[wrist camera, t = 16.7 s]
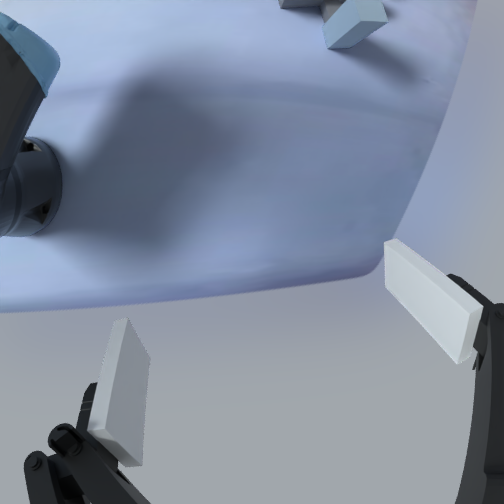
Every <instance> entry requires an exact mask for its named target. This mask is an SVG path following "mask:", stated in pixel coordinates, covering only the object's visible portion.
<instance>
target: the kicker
mask: <svg viewBox="0 0 504 504" xmlns="http://www.w3.org/2000/svg"><path fill="white" fill-rule="evenodd" d="M278 1H279V4H280V8H291V7H309V6H319V7H320V10H321V13H322V17H323V20H324V23H325V24H324V25H323V26H322V30H323V34H324V37H325V41H326V45H327V48H328V49H334V48H351V47H352V46H354V45H355V44H357V43H358V42H360V41H361V40H363V39H364V38H365V37H367V36H368V35H370V34H371V33H373V32H374V31H376V30H377V29H379V28H380V27H382V26H383V25H385V24H386V23H388V19H387V16H386V12H385V9H384V7H383V4H382V1H381V0H278Z"/></svg>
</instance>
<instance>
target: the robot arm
mask: <svg viewBox="0 0 504 504" xmlns="http://www.w3.org/2000/svg"><path fill="white" fill-rule="evenodd" d="M59 68H60V57H59V55H58V53H57V52H56V50H55V49H54V48H53V47H52V46H50V45H49V44H48V43H47V42H46V41H45V40H43V39H42V38H41V37H39V36H38V35H37V34H35V33H34V32H33V31H31V30H30V29H28V28H27V27H25V26H23V25H22V24H18V23H17V22H16V21H15V20H13V19H12V18H10V17H9V16H7V15H5V14H3V13H1V12H0V237H2V236H10V237H25V236H29V235H32V234H34V233H36V232H38V231H40V230H42V229H43V228H44V227H46V226H47V225H48V224H49V223H50V221H51V220H52V219H53V217H54V216H55V214H56V212H57V209H58V207H59V204H60V200H61V194H62V176H61V171H60V167H59V164H58V161H57V159H56V157H55V155H54V153H53V152H52V150H51V149H50V148H49V147H48V146H47V145H46V144H45V143H44V142H42V141H41V140H39V139H36V138H33V137H25V135H26V133H27V131H28V129H29V127H30V125H31V122H32V120H33V118H34V116H35V114H36V112H37V110H38V108H39V106H40V104H41V103H42V101H43V99H44V98H46V97H47V95H48V90H49V88H50V86H51V84H52V82H53V80H54V78H55V76H56V74H57V73H58V71H59ZM384 259H385V287H386V288H387V289H388V290H389V291H390V292H391V294H392V295H394V297H395V298H396V299H397V300H398V301H399V302H400V303H401V304H402V305H403V306H404V307H405V308H406V309H407V310H408V311H409V312H410V313H411V315H413V317H414V318H415V319H416V320H417V321H418V322H419V323H420V324H421V325H422V326H423V327H424V328H425V330H426V331H427V332H428V333H429V334H430V335H431V336H432V337H433V338H434V339H435V340H436V342H437V343H438V344H439V345H440V346H441V347H442V348H443V349H444V351H445V352H446V353H447V354H448V355H449V356H450V357H451V359H452V360H453V361H454V362H455V363H456V364H457V365H458V364H459V363H461V362H463V361H464V360H466V359H468V358H470V355H471V352H472V349H473V347H474V348H475V349H476V350H477V351H478V353H477V357H476V360H475V363H474V366H473V370H474V369H475V367H476V378H475V393H474V405H473V414H472V423H471V430H470V437H469V443H468V449H467V456H466V461H465V466H464V471H463V475H462V480H461V484H460V488H459V492H458V496H457V499H456V502H455V504H504V304H503V303H497V304H493V303H492V302H491V301H490V300H488V299H487V298H486V297H485V296H484V295H482V294H481V293H480V292H478V291H477V290H476V289H474V288H473V287H472V286H471V285H470V284H469V285H468V283H467V282H466V281H464V280H463V279H462V278H461V277H458V276H456V275H453V274H449V275H445V274H443V273H442V272H441V271H439V270H438V269H437V268H436V267H434V266H433V265H432V264H430V263H429V262H427V261H426V260H425V259H423V258H422V257H421V256H420V255H418V254H417V253H416V252H414V251H413V250H412V249H410V248H409V247H408V246H406V245H405V244H404V243H402V242H401V241H399V240H398V239H396V238H395V239H392V240H389V241H386V242H384ZM149 365H150V356H149V355H148V353H147V351H146V350H145V348H144V346H143V344H142V343H141V341H140V339H139V337H138V335H137V333H136V331H135V330H134V328H133V326H132V324H131V322H130V320H129V318H125V319H121V320H117V321H115V322H114V325H113V328H112V332H111V335H110V338H109V342H108V346H107V349H106V353H105V357H104V360H103V364H102V368H101V372H100V376H99V380H98V382H97V383H91V384H90V385H89V387H88V388H87V390H86V391H85V393H84V397H83V401H82V403H83V404H82V405H81V409H80V410H81V411H80V413H79V417H78V422H77V426H76V429H75V428H74V427H73V426H72V425H70V424H67V423H64V424H60V425H58V426H56V427H55V428H54V429H53V430H52V431H51V433H50V435H49V437H48V445H49V447H50V448H52V450H54V451H55V452H56V453H57V454H54V455H51V456H46V455H45V454H44V453H43V452H42V451H34V452H32V453H31V454H30V455H28V457H27V458H26V460H25V462H24V473H25V479H26V485H27V490H28V495H29V500H30V504H90V502H91V503H92V504H150V502H149V501H148V500H147V499H146V498H145V497H144V496H143V495H142V494H141V493H140V492H139V491H138V490H137V489H136V488H135V487H134V486H133V484H132V483H131V482H130V481H129V480H128V479H127V478H126V477H125V475H124V474H123V473H122V472H121V471H120V470H119V469H118V461H119V462H120V463H121V464H123V465H124V466H125V467H134V466H142V458H143V438H144V421H145V408H146V396H147V385H148V375H149Z"/></svg>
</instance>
